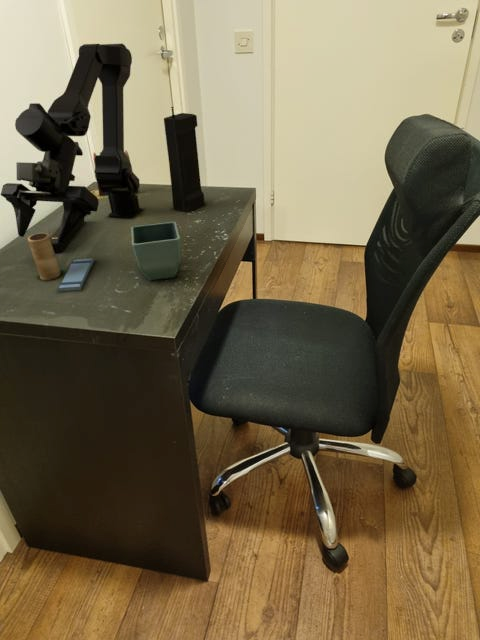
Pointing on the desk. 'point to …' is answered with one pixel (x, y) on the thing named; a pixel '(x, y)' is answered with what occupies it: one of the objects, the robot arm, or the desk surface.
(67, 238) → the black rectangular bar
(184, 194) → the portable radio
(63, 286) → the light blue flat block
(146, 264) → the flower pot
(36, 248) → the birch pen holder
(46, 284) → the desk surface
